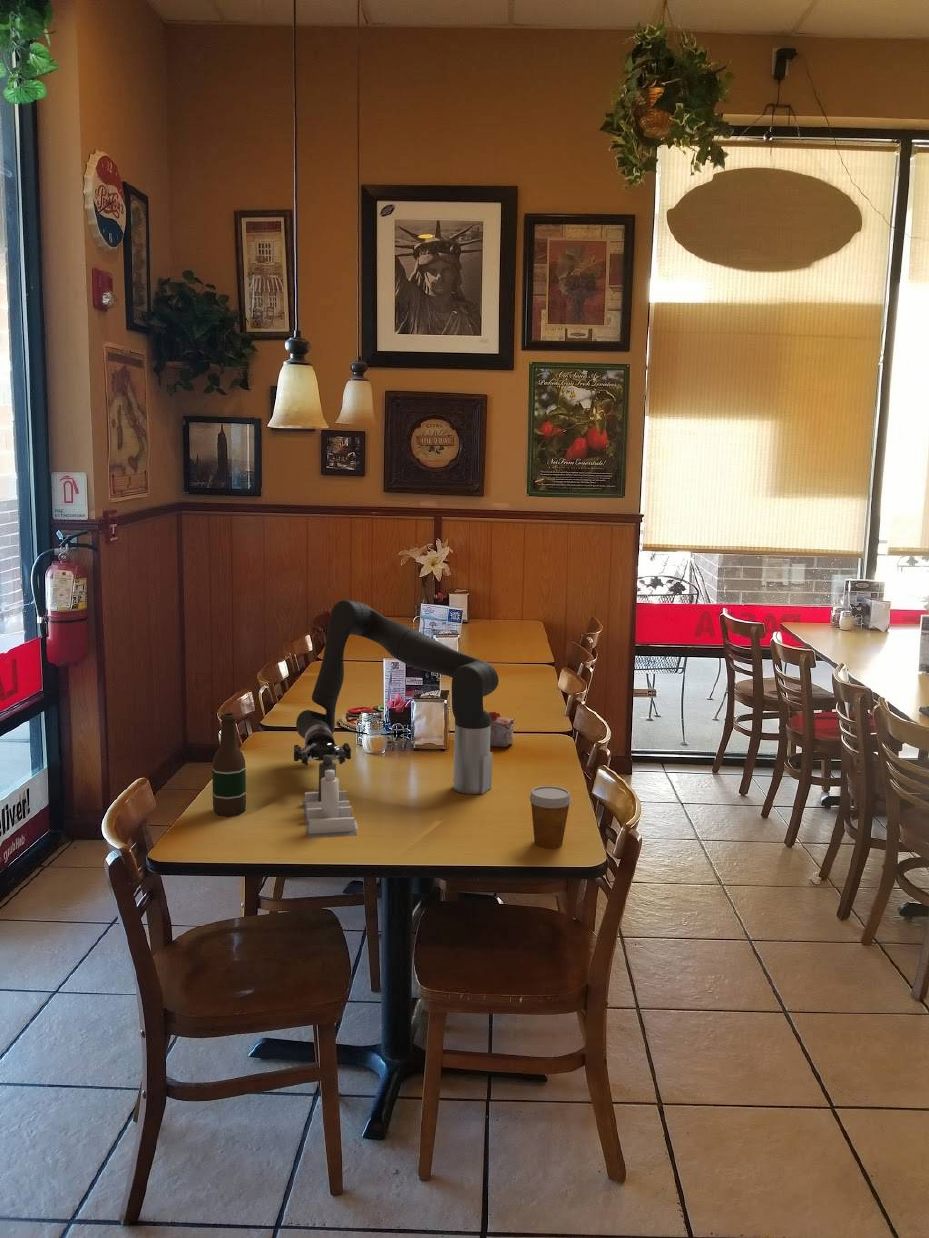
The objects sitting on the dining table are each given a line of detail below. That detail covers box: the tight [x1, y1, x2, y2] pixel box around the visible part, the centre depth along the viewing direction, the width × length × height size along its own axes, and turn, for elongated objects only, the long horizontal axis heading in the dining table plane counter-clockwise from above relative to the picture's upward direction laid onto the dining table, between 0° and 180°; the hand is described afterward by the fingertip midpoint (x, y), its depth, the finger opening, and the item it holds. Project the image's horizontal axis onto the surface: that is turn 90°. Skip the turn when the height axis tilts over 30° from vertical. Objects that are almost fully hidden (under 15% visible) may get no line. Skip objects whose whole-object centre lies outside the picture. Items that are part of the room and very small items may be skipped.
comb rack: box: [301, 790, 359, 839], centre depth 238 cm, size 24×12×4 cm, turn 12°
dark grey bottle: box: [318, 755, 337, 802], centre depth 242 cm, size 4×4×13 cm
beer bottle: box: [211, 712, 247, 818], centre depth 242 cm, size 8×8×24 cm
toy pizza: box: [337, 704, 384, 733], centre depth 325 cm, size 28×28×4 cm
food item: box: [488, 711, 516, 748], centre depth 304 cm, size 14×8×10 cm, turn 71°
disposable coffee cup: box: [528, 785, 573, 849], centre depth 229 cm, size 10×10×12 cm
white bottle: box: [321, 770, 340, 819], centre depth 232 cm, size 4×4×13 cm
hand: (324, 760), depth 251 cm, fingers open, 8 cm apart
